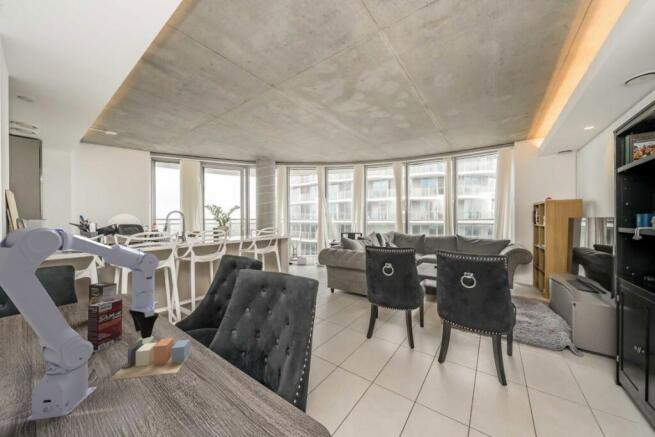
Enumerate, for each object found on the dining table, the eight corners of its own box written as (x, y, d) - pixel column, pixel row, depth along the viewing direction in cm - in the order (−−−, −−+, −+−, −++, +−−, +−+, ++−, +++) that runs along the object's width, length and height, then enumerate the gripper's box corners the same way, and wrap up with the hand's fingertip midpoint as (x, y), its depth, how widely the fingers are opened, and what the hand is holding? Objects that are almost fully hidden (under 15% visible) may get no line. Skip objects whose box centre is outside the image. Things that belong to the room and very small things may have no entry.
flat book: (148, 348, 89) (148, 342, 89) (133, 350, 87) (133, 345, 87) (154, 340, 94) (154, 335, 94) (140, 342, 93) (140, 337, 93)
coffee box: (87, 319, 114) (88, 284, 114) (104, 314, 120) (104, 281, 121) (101, 321, 112) (101, 286, 112) (117, 316, 118) (117, 282, 118)
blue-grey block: (184, 361, 78) (184, 346, 78) (171, 362, 77) (171, 348, 77) (189, 352, 83) (189, 339, 83) (178, 354, 82) (178, 340, 82)
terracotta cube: (166, 363, 77) (166, 345, 77) (153, 364, 76) (153, 346, 76) (173, 354, 82) (173, 337, 82) (161, 355, 81) (161, 339, 81)
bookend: (130, 367, 75) (130, 349, 75) (122, 368, 74) (122, 350, 74) (142, 356, 81) (142, 339, 81) (134, 357, 80) (134, 340, 80)
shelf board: (177, 374, 72) (177, 372, 72) (108, 382, 69) (108, 380, 69) (191, 353, 84) (191, 351, 84) (133, 358, 81) (133, 357, 81)
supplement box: (97, 353, 84) (97, 306, 85) (86, 351, 85) (86, 305, 86) (123, 341, 93) (123, 298, 93) (112, 340, 94) (112, 298, 94)
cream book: (148, 364, 76) (148, 350, 76) (135, 366, 75) (135, 351, 75) (156, 356, 81) (156, 342, 81) (144, 357, 80) (144, 343, 80)
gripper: (165, 292, 76) (165, 336, 76) (152, 284, 86) (152, 323, 86) (137, 297, 71) (136, 344, 71) (126, 288, 81) (126, 330, 81)
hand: (143, 333), depth 78 cm, fingers open, 7 cm apart
